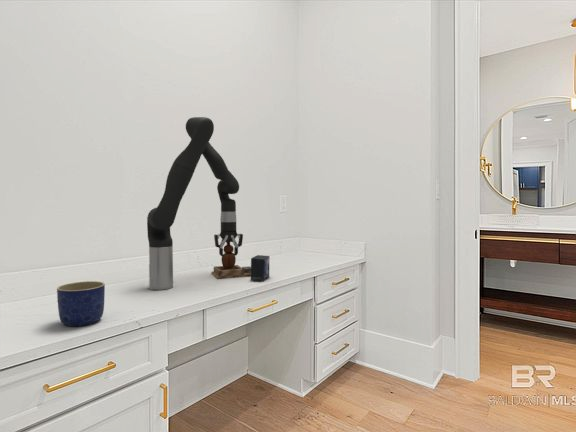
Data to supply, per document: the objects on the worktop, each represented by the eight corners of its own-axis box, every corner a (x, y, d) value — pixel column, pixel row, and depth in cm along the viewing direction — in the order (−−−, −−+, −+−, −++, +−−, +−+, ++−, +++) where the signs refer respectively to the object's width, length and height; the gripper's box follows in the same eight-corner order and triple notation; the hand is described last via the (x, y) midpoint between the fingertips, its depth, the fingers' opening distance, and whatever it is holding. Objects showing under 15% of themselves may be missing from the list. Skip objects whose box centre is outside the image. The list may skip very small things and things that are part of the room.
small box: (264, 282, 166) (264, 258, 166) (250, 281, 167) (250, 258, 167) (270, 277, 176) (270, 255, 176) (256, 276, 178) (256, 254, 177)
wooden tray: (217, 279, 172) (217, 271, 172) (211, 273, 185) (211, 266, 185) (258, 275, 180) (258, 268, 180) (250, 270, 193) (250, 263, 192)
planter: (47, 326, 108) (46, 288, 107) (84, 313, 119) (84, 279, 119) (79, 331, 103) (78, 292, 103) (114, 318, 115) (114, 283, 114)
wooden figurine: (228, 270, 176) (228, 238, 176) (219, 268, 180) (219, 237, 179) (237, 267, 182) (237, 237, 182) (228, 266, 185) (228, 236, 185)
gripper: (215, 221, 174) (215, 257, 174) (245, 221, 179) (245, 255, 180) (212, 220, 181) (212, 255, 181) (240, 220, 186) (241, 253, 187)
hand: (228, 255), depth 181 cm, fingers closed on wooden figurine, 6 cm apart
